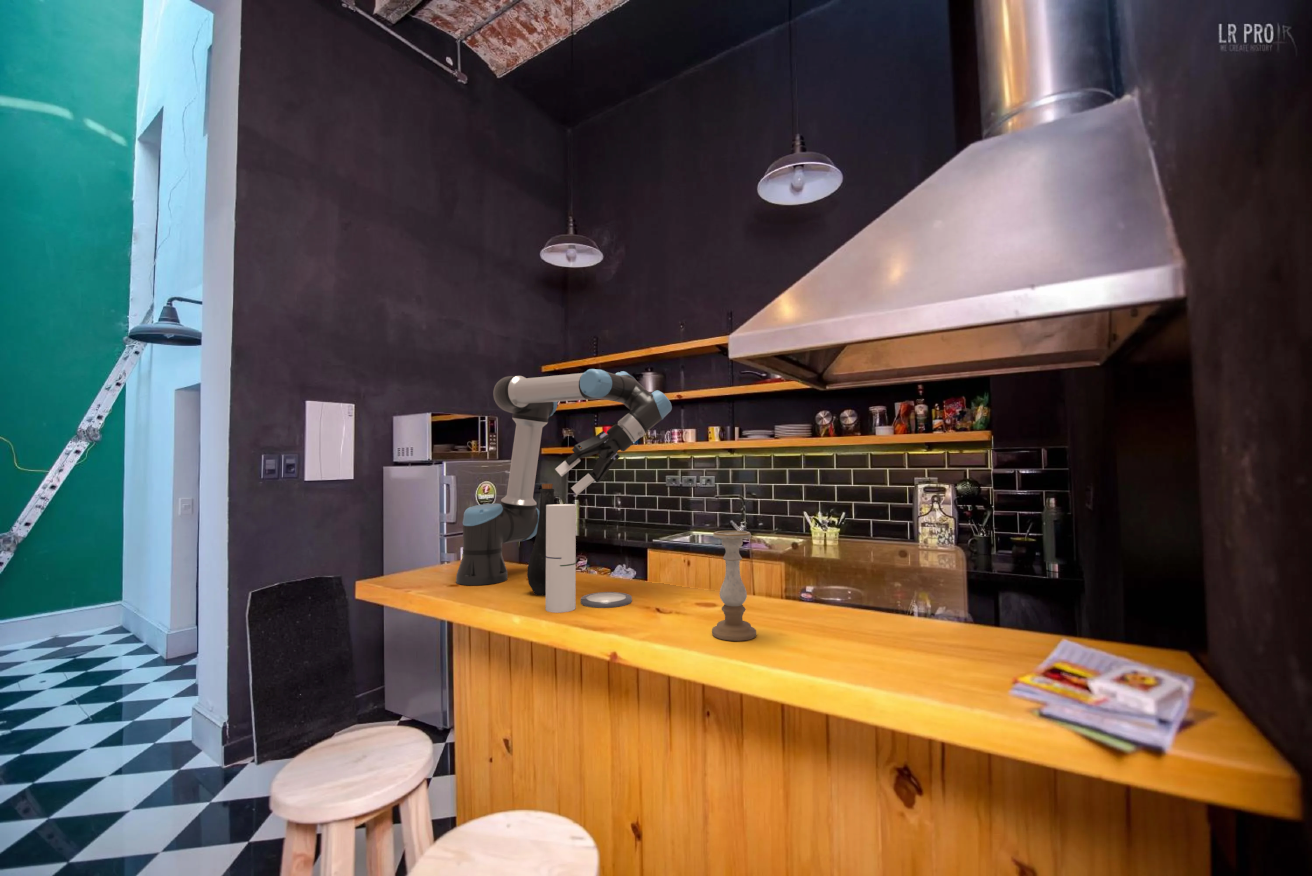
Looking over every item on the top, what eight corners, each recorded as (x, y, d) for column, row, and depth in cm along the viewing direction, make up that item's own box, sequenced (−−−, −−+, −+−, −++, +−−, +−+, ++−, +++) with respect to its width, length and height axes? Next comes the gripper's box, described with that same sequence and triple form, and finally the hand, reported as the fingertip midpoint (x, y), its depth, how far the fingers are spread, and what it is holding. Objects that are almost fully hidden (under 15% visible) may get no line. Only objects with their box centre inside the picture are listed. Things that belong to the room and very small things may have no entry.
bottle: (570, 588, 150) (570, 483, 152) (560, 597, 139) (560, 484, 142) (534, 588, 151) (535, 483, 153) (521, 596, 140) (522, 484, 143)
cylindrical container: (549, 605, 131) (549, 504, 133) (577, 605, 131) (578, 504, 132) (542, 612, 124) (542, 505, 125) (572, 612, 123) (572, 505, 125)
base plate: (572, 600, 136) (572, 595, 136) (616, 593, 143) (616, 589, 143) (595, 610, 125) (595, 605, 125) (641, 602, 132) (641, 598, 132)
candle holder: (740, 644, 99) (737, 535, 100) (703, 635, 105) (701, 532, 106) (764, 634, 105) (762, 531, 107) (728, 626, 111) (726, 529, 113)
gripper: (623, 420, 135) (559, 473, 131) (641, 460, 157) (587, 507, 153) (605, 402, 138) (542, 454, 134) (626, 444, 160) (572, 490, 156)
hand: (566, 482), depth 144 cm, fingers open, 13 cm apart
